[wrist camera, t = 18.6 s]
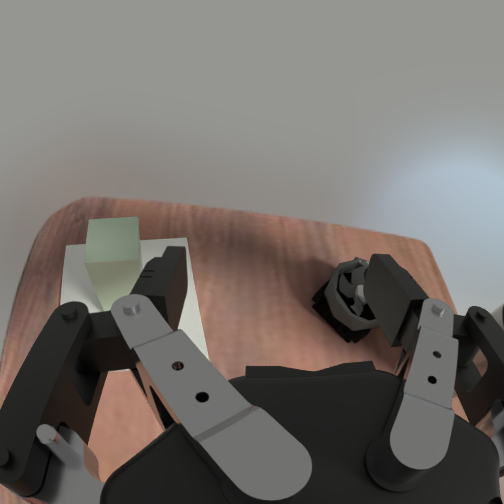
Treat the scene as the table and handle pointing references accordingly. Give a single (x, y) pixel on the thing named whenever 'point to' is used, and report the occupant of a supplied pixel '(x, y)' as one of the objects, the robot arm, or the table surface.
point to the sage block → (113, 257)
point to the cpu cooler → (347, 300)
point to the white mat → (82, 289)
